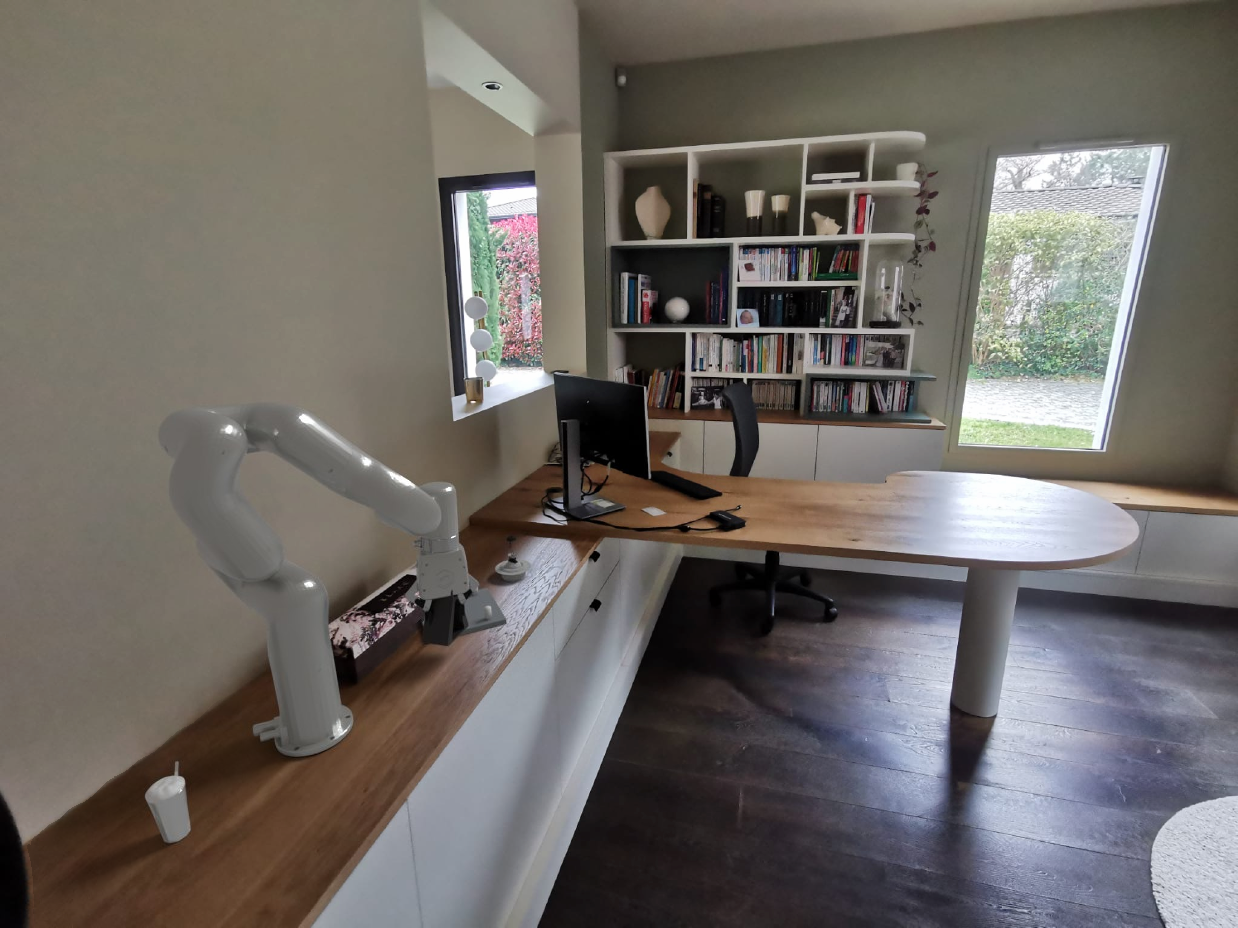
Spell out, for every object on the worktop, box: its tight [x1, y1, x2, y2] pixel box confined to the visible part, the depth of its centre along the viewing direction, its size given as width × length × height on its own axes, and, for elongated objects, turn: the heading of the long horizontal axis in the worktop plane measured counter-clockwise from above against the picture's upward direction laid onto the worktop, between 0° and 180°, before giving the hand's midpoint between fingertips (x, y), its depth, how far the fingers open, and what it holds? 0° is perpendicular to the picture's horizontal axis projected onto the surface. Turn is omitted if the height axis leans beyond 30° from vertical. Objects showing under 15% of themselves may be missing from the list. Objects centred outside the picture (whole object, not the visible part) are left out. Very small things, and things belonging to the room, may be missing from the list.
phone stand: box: [421, 589, 469, 647], centre depth 126 cm, size 9×6×12 cm, turn 166°
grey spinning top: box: [494, 534, 532, 582], centre depth 164 cm, size 12×10×10 cm
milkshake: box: [144, 761, 192, 844], centre depth 86 cm, size 4×5×10 cm
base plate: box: [420, 586, 508, 637], centre depth 145 cm, size 18×18×4 cm
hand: (445, 621), depth 126 cm, fingers closed on phone stand, 5 cm apart
